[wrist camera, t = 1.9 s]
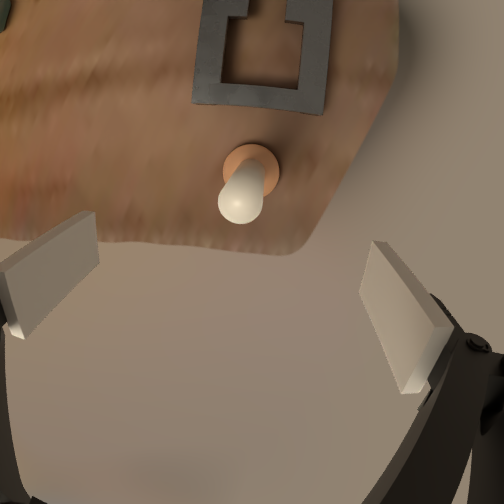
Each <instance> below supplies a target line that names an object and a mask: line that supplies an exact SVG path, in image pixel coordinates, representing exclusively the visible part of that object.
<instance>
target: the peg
mask: <svg viewBox="0 0 504 504" xmlns="http://www.w3.org/2000/svg"><path fill="white" fill-rule="evenodd" d="M223 177H224V181H225V183H226V185H225V186H224V187H223V189H222V190H221V192H220V194H219V198H218V206H219V209H220V212H221V213H222V215H223V216H224V217H225V218H226V219H227V220H229V221H231V222H233V223H237V224H245V223H248V222H251V221H253V220H254V219H255V218H256V217H257V216H258V215H259V214H260V212H261V209H262V205H263V197H264V196H266V195H267V194H269V193H270V192H271V191H272V190H273V189H274V188H275V186H276V184H277V182H278V179H279V166H278V162H277V160H276V158H275V156H274V155H273V153H272V152H271V151H269V150H268V149H267V148H265V147H263V146H261V145H257V144H246V145H242V146H240V147H238V148H236V149H235V150H233V151H232V152H231V153H230V154H229V156H228V157H227V159H226V160H225V163H224V166H223Z"/></svg>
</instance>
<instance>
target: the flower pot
mask: <svg viewBox="0 0 504 504" xmlns="http://www.w3.org/2000/svg"><path fill="white" fill-rule="evenodd" d="M10 6H11V3H10V0H0V33H1V32H2V31H3V30H4V27H5V23H6V20H7V16H8V13H9V9H10Z"/></svg>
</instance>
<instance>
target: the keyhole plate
mask: <svg viewBox="0 0 504 504" xmlns="http://www.w3.org/2000/svg"><path fill="white" fill-rule="evenodd" d="M249 2H250V0H203V7H202V14H201V21H200V28H199V36H198V44H197V53H196V61H195V71H194V80H193V91H192V102H191V103H193V104H198V105H233V106H247V107H258V108H268V109H277V110H286V111H294V112H300V113H302V114H309V115H316V116H321V115H323V108H324V99H325V90H326V80H327V70H328V59H329V48H330V36H331V22H332V8H333V0H287V5H286V15H285V23H292V24H300V25H303V35H302V46H301V56H300V66H299V76H298V86H297V90H293V89H285V88H276V87H267V86H256V85H243V84H227V83H222V75H223V65H224V56H225V47H226V39H227V30H228V22H229V19H248V10H249Z"/></svg>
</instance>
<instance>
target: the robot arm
mask: <svg viewBox="0 0 504 504" xmlns="http://www.w3.org/2000/svg"><path fill="white" fill-rule="evenodd" d="M98 264H99V254H98V244H97V233H96V220H95V212H92V211H81V212H80V213H78V214H76V215H74V216H73V217H71V218H69V219H67V220H66V221H64V222H62V223H61V224H59V225H57V226H56V227H54V228H53V229H51V230H49V231H48V232H46V233H44V234H43V235H41V236H40V237H38V238H37V239H35V240H33V241H32V242H30V243H29V244H27V245H26V246H24V247H23V248H21V249H20V250H18V251H17V252H15V253H14V254H12V255H11V256H10V257H8V258H7V259H5V260H4V261H2V262H1V263H0V504H47V503H45V502H43V501H41V500H39V499H37V498H35V497H33V496H32V498H30V497H29V495H28V494H27V492H26V491H25V489H24V487H23V485H22V482H21V479H20V475H19V471H18V466H17V462H16V458H15V452H14V447H13V442H12V435H11V428H10V422H9V413H8V405H7V393H6V377H5V334H4V331H3V328H2V326H3V325H4V324H5V323H6V322H7V323H8V326H9V329H10V331H11V334H12V335H14V336H16V337H19V338H22V339H24V340H25V339H26V338H27V337H28V336H29V335H30V334H31V333H32V331H33V330H34V329H35V328H36V327H37V326H38V325H39V324H40V323H41V322H42V320H43V319H44V318H45V317H46V316H47V315H48V314H49V313H50V312H51V311H52V310H53V309H54V308H55V307H56V306H57V305H58V304H59V303H60V302H61V301H62V299H64V298H65V296H66V295H67V294H68V293H69V292H70V291H71V290H72V289H73V288H74V287H75V286H76V285H77V284H78V283H79V282H80V281H81V280H83V279H84V278H85V277H86V276H87V275H88V274H89V273H90V272H91V271H92V270H93V269H94V268H95V267H96V266H97V265H98ZM359 295H360V297H361V299H362V302H363V304H364V306H365V308H366V310H367V313H368V315H369V317H370V320H371V322H372V324H373V327H374V329H375V331H376V333H377V336H378V338H379V341H380V343H381V345H382V348H383V350H384V353H385V355H386V358H387V360H388V362H389V365H390V367H391V370H392V372H393V375H394V378H395V380H396V383H397V385H398V388H399V391H400V393H401V394H408V393H420V391H421V389H422V388H423V386H424V384H425V383H426V381H427V380H428V382H429V384H430V386H431V389H430V391H429V392H428V394H427V396H426V397H425V399H424V400H423V402H422V403H421V405H420V406H419V408H418V411H419V412H418V414H417V416H416V418H415V420H414V422H413V423H412V425H411V427H410V429H409V431H408V433H407V435H406V436H405V438H404V440H403V442H402V443H401V445H400V447H399V449H398V450H397V452H396V453H395V455H394V457H393V458H392V460H391V462H390V463H389V465H388V466H387V468H386V470H385V471H384V472H383V474H382V476H381V477H380V478H379V480H378V481H377V483H376V484H375V486H374V487H373V489H372V490H371V491H370V493H369V494H368V496H367V497H366V498H365V500H364V501H363V502H362V504H451V503H452V501H453V498H454V496H455V494H456V491H457V489H458V486H459V484H460V481H461V478H462V476H463V473H464V470H465V467H466V465H467V461H468V459H469V456H470V452H471V449H472V462H471V475H470V485H469V493H468V501H467V504H504V354H499V353H495V352H492V348H491V346H490V345H489V343H488V342H487V341H486V340H484V339H483V338H482V337H480V336H478V335H476V334H472V333H465V332H464V331H463V329H462V328H461V327H460V325H459V324H458V323H457V321H456V320H455V319H454V318H453V316H451V313H450V312H449V311H448V310H446V307H445V306H444V304H443V303H442V302H441V301H440V300H439V299H438V298H436V297H435V296H434V295H432V294H429V293H428V292H427V290H426V289H425V288H424V286H423V285H422V284H421V283H420V281H419V280H418V279H417V278H416V276H415V275H414V274H413V273H412V271H411V270H410V269H409V268H408V267H407V265H406V264H405V263H404V262H403V261H402V259H401V258H400V257H399V256H398V255H397V254H396V253H395V251H394V250H393V249H392V248H391V247H390V245H389V244H388V243H387V242H379V241H372V243H371V247H370V252H369V256H368V260H367V264H366V267H365V271H364V275H363V279H362V282H361V286H360V290H359Z"/></svg>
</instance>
